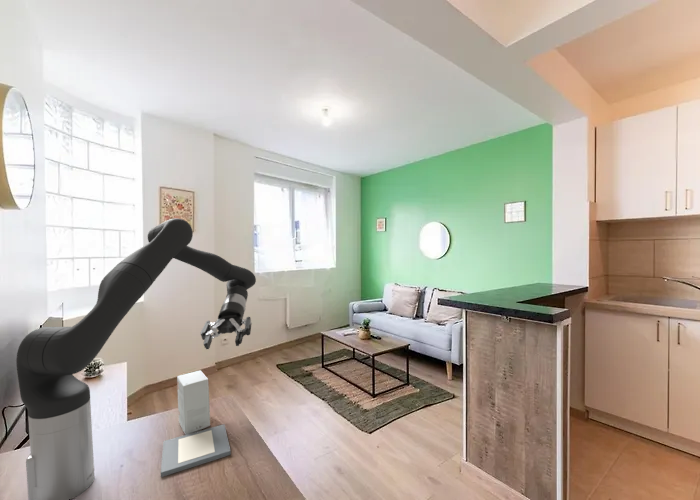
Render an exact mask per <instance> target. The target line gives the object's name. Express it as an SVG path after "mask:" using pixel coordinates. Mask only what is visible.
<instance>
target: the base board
mask: <svg viewBox="0 0 700 500" xmlns="http://www.w3.org/2000/svg"><path fill="white" fill-rule="evenodd" d="M226 430H227V429H226V425H225V423H223V424H220V425H216V426H213V427H208V428H206V429H205V428H204V429H203V430H202V429H201V430H198V431H195V432H193V433H190V434H187V435H185V434H184V435H179V436H177V437H173V438H170V439H165V440H163V441H162V442H163V443H162V454H161V455H162V456H161V466H160V478H164V477H166V476H170V475H172V474H175V473H178V472H181V471H186V470H189V469H192V468H194V467H197V466H201V465H203V464H206V463H209V462H213V461H216V460H219V459H222V458H225V457H227V456H228V457H229V456H231V455H232V454H231V451H232V450H231V447H230V443H229V439H228V435H227V431H226Z"/></svg>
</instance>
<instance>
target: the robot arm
mask: <svg viewBox="0 0 700 500" xmlns="http://www.w3.org/2000/svg"><path fill="white" fill-rule="evenodd" d="M193 236H194V235H193V228H192V225H190V223H189V222H188V221H187V220H185V219H182V218H178V217H177V218H170V219H167V220H165V221H163V222H161V223H159V224H158V225H155V226H154V227H153V228H151V229H150V230H149V232H148V234H147V242H148V243H147V244H145V245H143V246H142V247H140V248H138V249H137V250H135V251H133V252H132V253H131V254H129V255H127V257H125V258H124V259H123V260H121V261H120V262H118V263H117V264H116V265H115V266H114V267H113V268H112V269H111V270H110V271H109V272H107V274H106V275H105V276H104V277H103V278H102V280H101V281H100V284H99V287H98V291H97V300H96V304H95V305H94V306H93V308H92V309H91V310H89V312H88V313H87V314H86V315H85V316H84V317H83V318H82V319H81V320H80V321H79V322H76V323H75V325H72V326H44V327H39V328H37V329H36V328H35V329H34V330H32V331H30V332H29V333H27V335H26V336H25V337H24V338H23V339H22V340H21V342H20V344H19V346H18V349H17V352H16V360H15V361H16V372H17V379H18V380H17V381H18V389H19V397H20V399H21V403H23V405H24V406H25V407H26V409H27V419H28V434H29V449H30V450H29V451H30V453H29V455H28V456H27V458H26V460H25V467H26V470H25V471H26V484H27V500H69V499H70V500H72V499H74V498H76V497H78V496H80V494H82V493H84V492H85V491H86V490H87V489H88V488H89V487H90V486H91V485H92V484H93V482H94V480H95V463H94V461H95V460H94V444H93V443H94V442H93V426H92V409H91V408H92V407H91V406H92V405H91V390H90V386H89V385H88V384H87V383H86V382H83V381H81V380H80V379H78V378H77V377H76V376H75V374H78V373H80V372H81V371H83V370H84V369H86V368H87V367H88V366H89V365H90V364H91V363H92V362H93V361H94V360H95V358H96V357H97V356H98V354H99V353H100V352H101V350H102V349H103V347H104V345H105V344H106V343H107V342H108V340H109V338H110V337H111V335H112V334H113V333H114V331H115V330H116V329H117V327H118V326H119V324H120V323H121V322H122V320H123V319H124V318H125V316H127V314H128V312H130V311H131V309H132V308H133V307H134V306H135V304H136V303H137V302H138V301H139V300H140V299H141V298H142V297H143V296H144V295H145V293H146V292H147V291H148V290H149V288H150V287H151V286H152V285H153V283H154V282H155V281H156V280H157V279H158V277H160V275H161V274H162V273H163V271H164V270H165V269H166V268H167V266H168V265H169V263H170V262H171V261H172V260H173V259H175V260H178V261H180V262H181V263H182V262H183V263H184V264H187V265H190V266H191V267H192V266H193V267H195V268H196V269H198V270H199V269H200V270H201V271H203V272H204V273H207V274H208V275H210V276H212V277H213V278H215V279H217V280H218V281H221V282H223V283H225V282H226V293H227V294H226V296H225V298H224V301H223V303H222V304H221V307H220V311H219V313H218V315H217V319H216V321H214V322H211V321H210V320H206V321H205V323H204V325H203V327H202V328H201V331H200V336H201V339H202V341H203V346H204V348H205V350H210V348H211V344H212V342H213V340H214V339H215V338H217V337H219V336H221V335H223V334H232V333H234V334H236V336H235V340H234V342H235V346H236V347H239V346H240V345H241V344H242V343H243V339H244V337H245V336H250V335H251V332H252V324H253V323H252V318H251V316H247V317H246V318H245V319H244V314H245V312H246V307H247V306H246V304H247V301H248V296H249V295H248V294H249V293H248V290H249V289H251V288H252V287H253V286H254V285H256V282H257V281H256V280H257V278H256V275H255V274H254V273H253V272H252V271H251V270H249V269H247V268H245V267H241V266H239V265H235V264H232V263H231V262H228V260H227V259H225V258H223V257H221V256H219V255H218V254H215V253H211V252H208V251H207V252H206V251H204V250H200V249H196V248H193V247H191V246H189V244H190V243H191V241H192V239H193ZM243 325H244V328H242V327H241V326H243Z"/></svg>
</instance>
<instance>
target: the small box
mask: <svg viewBox="0 0 700 500" xmlns="http://www.w3.org/2000/svg"><path fill="white" fill-rule="evenodd" d="M176 378H177V379H176V384H177V412H178V413H177V414H178V424H179V425H180V427H181V430H182V432H183V433H184V435H187V434H191V433H194V432H198V431H201V430H202V429H203V430H204V429H205V428H206V429H207V428H209V427H211V407H210V404H211V403H210V388H209V387H210V385H209V384H210V383H209V378H208V377H207V376H206V374H205V373H204V372H203V371H202V370H201V369H200V370H196V371H192V372H189V373H184V374H180V375H177V376H176Z"/></svg>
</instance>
